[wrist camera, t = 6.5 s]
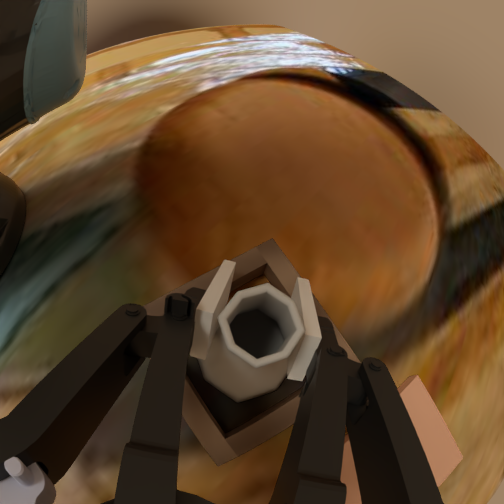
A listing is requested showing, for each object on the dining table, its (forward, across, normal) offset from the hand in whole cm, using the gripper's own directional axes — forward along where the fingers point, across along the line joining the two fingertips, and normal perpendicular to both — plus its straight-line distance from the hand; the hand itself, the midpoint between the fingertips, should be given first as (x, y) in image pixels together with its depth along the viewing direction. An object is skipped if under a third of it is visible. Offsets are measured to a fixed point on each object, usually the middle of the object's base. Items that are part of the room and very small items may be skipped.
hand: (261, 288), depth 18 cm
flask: (0, 0, -5) cm, 5 cm away
